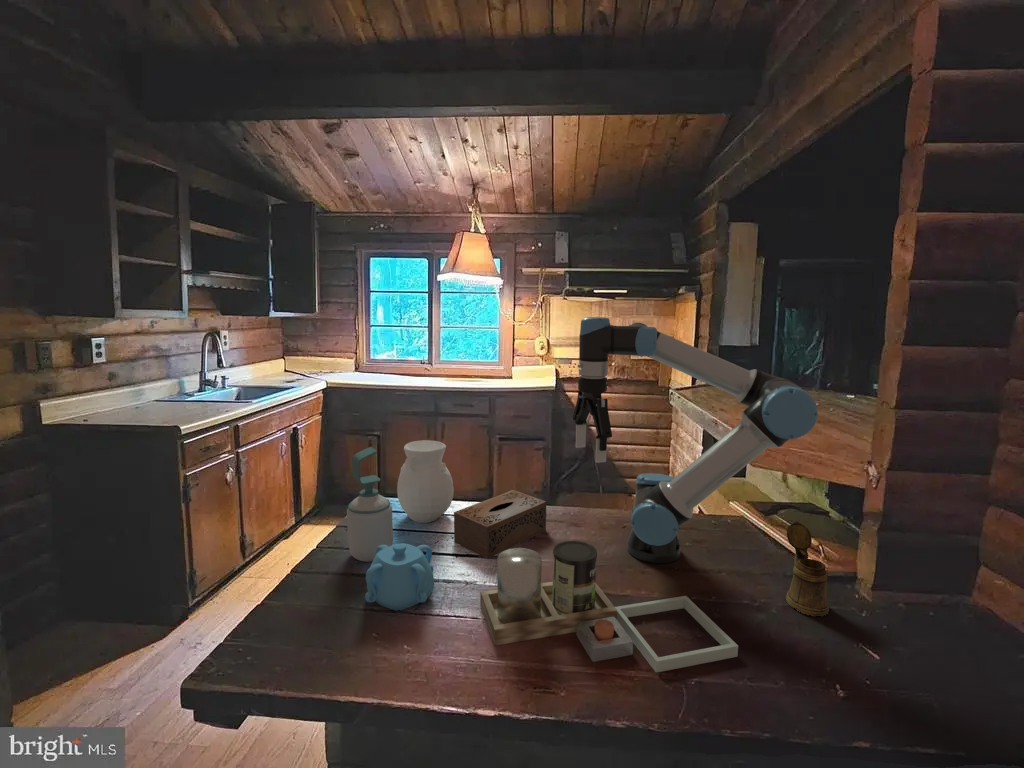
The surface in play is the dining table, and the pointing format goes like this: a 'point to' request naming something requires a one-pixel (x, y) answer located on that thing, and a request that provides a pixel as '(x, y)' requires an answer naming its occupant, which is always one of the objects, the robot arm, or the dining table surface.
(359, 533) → the soap bottle
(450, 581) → the dining table surface
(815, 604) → the wooden mug
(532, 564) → the grey rounded cylinder piece
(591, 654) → the button housing
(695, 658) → the white square frame
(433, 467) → the white vase
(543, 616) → the divided wooden tray
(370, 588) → the decorative pot
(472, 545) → the tissue box cover
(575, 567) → the coffee can
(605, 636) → the button
